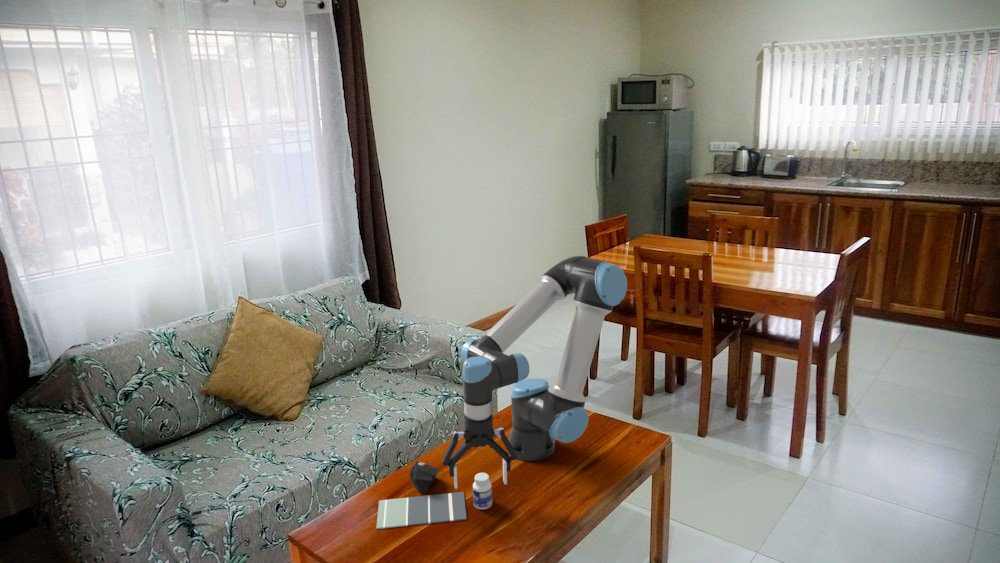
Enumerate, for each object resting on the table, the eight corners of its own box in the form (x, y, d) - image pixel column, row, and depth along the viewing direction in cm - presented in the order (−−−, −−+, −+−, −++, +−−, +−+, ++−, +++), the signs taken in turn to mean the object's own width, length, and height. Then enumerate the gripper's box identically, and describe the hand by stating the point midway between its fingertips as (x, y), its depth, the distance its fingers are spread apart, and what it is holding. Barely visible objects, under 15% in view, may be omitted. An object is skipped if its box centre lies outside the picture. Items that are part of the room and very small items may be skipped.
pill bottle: (471, 500, 180) (469, 473, 177) (488, 496, 182) (487, 469, 179) (477, 512, 175) (475, 483, 173) (495, 507, 177) (493, 479, 174)
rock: (399, 488, 187) (398, 471, 185) (414, 472, 195) (413, 455, 193) (430, 496, 183) (429, 478, 181) (444, 479, 191) (443, 462, 189)
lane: (463, 493, 184) (463, 491, 184) (466, 519, 172) (466, 518, 172) (379, 501, 181) (379, 500, 181) (376, 529, 170) (376, 528, 170)
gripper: (522, 404, 175) (523, 472, 181) (431, 410, 173) (434, 479, 178) (526, 417, 168) (527, 487, 174) (431, 424, 165) (435, 495, 171)
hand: (480, 483), depth 176 cm, fingers open, 13 cm apart
